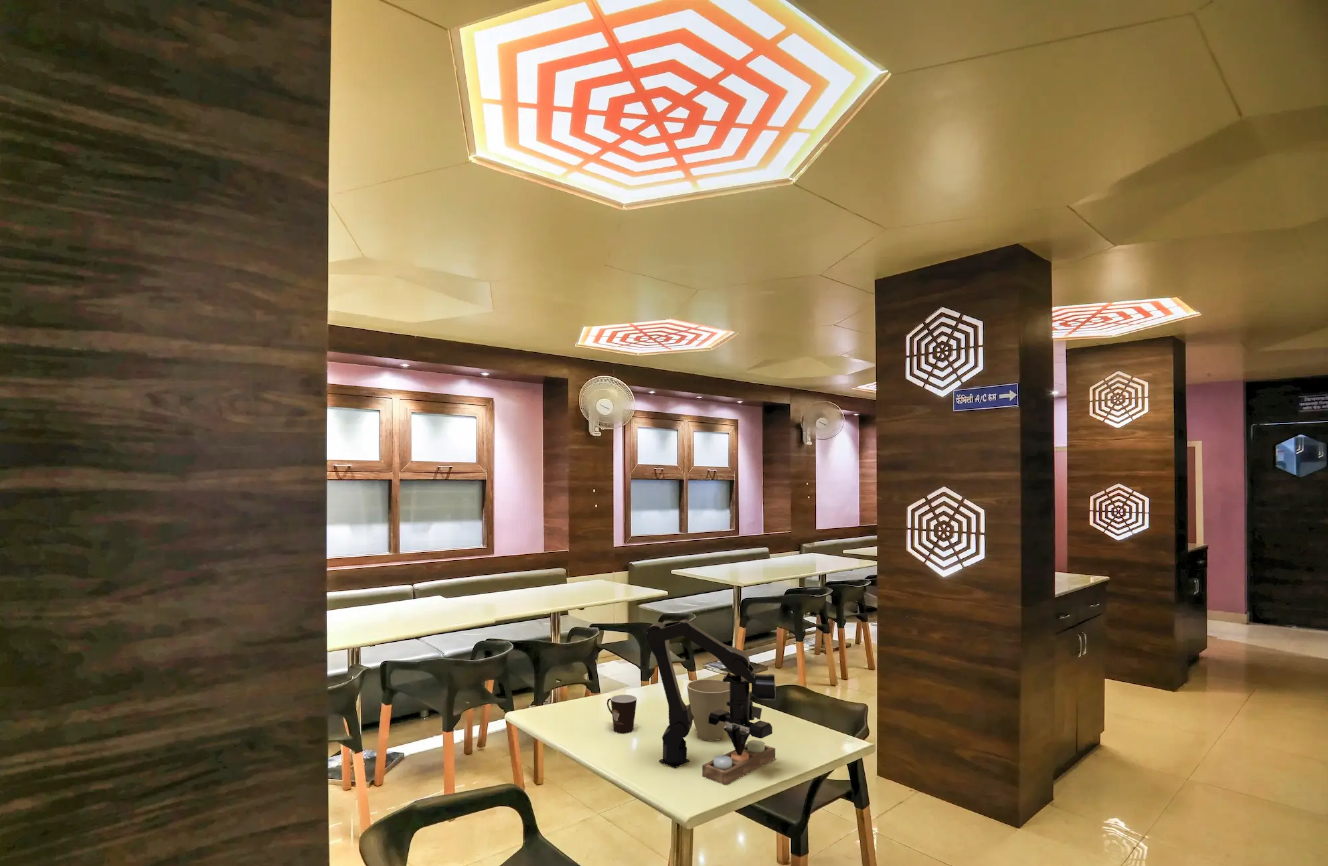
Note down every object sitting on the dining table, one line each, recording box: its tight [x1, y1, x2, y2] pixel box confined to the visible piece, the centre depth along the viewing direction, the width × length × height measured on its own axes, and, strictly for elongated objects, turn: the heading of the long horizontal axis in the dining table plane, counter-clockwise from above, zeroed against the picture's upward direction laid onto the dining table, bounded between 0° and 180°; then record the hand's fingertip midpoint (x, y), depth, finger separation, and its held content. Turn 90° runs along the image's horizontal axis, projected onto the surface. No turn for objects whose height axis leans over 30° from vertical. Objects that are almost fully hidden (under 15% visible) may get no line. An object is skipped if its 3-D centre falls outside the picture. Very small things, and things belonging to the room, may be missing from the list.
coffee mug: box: [606, 694, 638, 735], centre depth 216 cm, size 12×9×10 cm
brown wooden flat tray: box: [701, 743, 776, 786], centre depth 185 cm, size 8×24×3 cm, turn 138°
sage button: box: [746, 739, 765, 754], centre depth 191 cm, size 5×5×3 cm
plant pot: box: [686, 678, 730, 741], centre depth 209 cm, size 15×15×16 cm
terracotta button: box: [731, 752, 749, 762], centre depth 185 cm, size 5×5×3 cm
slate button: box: [713, 754, 732, 771], centre depth 179 cm, size 5×5×3 cm
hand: (739, 754), depth 185 cm, fingers closed, pressing on terracotta button
